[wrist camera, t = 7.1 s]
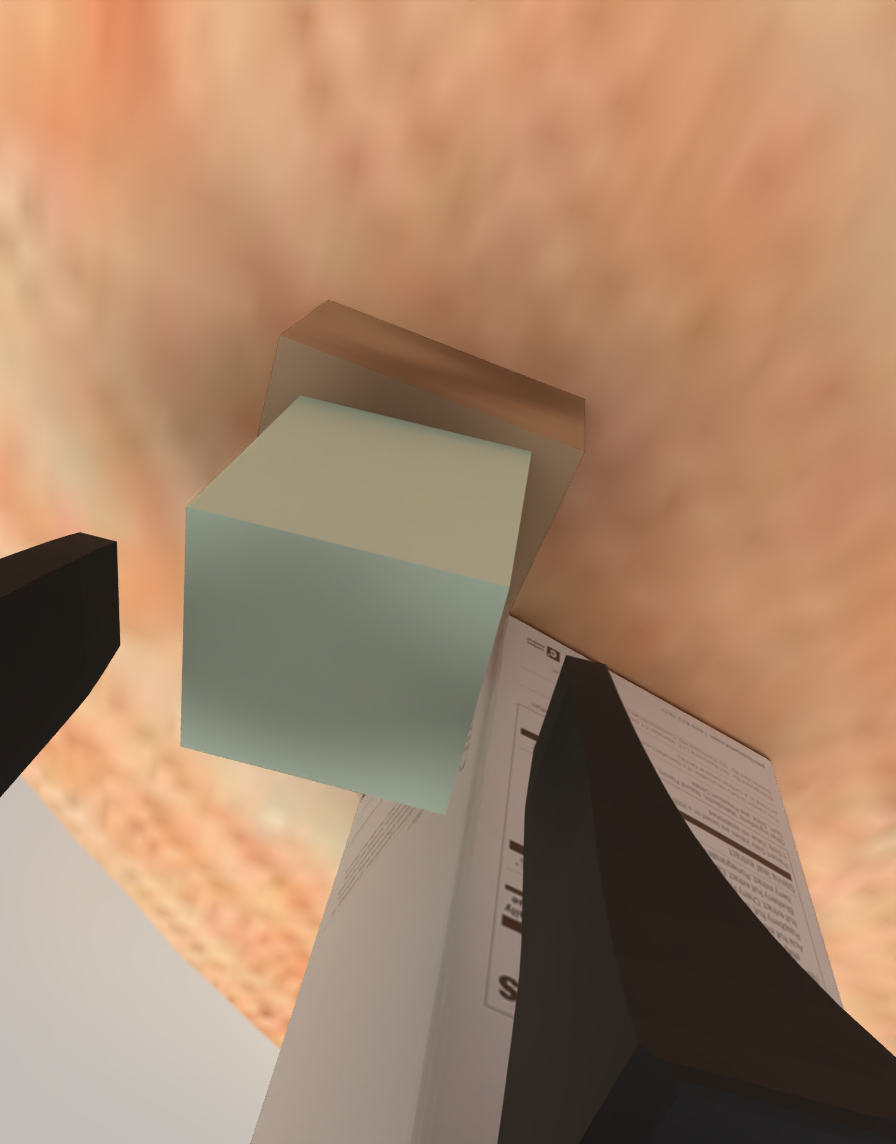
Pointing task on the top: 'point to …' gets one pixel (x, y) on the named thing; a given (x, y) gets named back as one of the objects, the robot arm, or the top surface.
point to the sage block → (348, 599)
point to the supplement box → (490, 917)
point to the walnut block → (435, 403)
